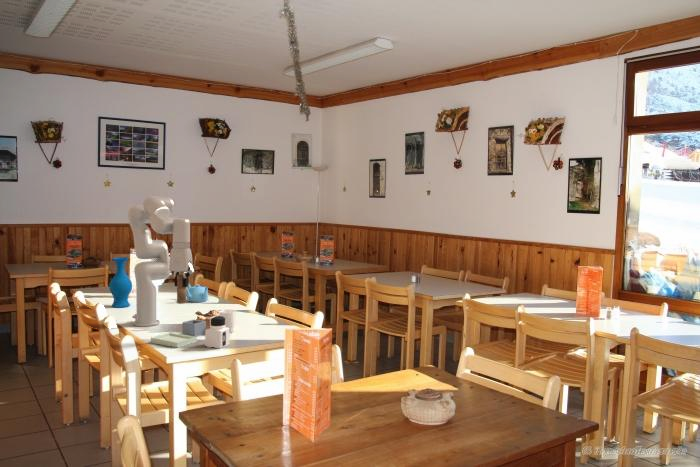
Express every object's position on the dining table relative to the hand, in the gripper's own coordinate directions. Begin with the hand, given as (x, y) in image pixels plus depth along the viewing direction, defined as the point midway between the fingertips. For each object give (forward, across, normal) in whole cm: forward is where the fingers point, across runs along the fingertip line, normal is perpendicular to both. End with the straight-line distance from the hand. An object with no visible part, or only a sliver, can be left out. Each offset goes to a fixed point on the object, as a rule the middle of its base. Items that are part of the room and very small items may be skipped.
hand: (181, 285), depth 274 cm
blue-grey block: (+25, -2, +11) cm, 27 cm away
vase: (+24, -83, +41) cm, 96 cm away
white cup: (+25, +7, +24) cm, 35 cm away
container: (+25, +20, 0) cm, 32 cm away
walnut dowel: (+8, 0, 0) cm, 8 cm away
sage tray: (+25, 0, -5) cm, 25 cm away
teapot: (+24, -59, +77) cm, 100 cm away
